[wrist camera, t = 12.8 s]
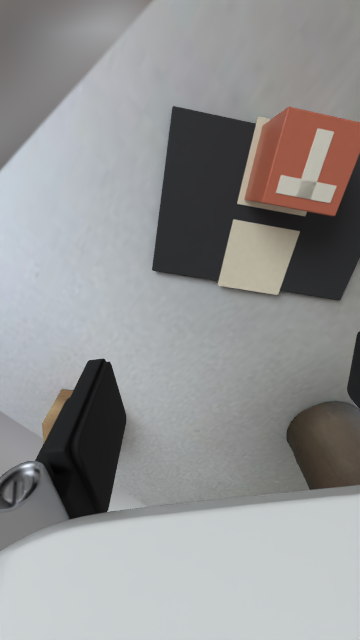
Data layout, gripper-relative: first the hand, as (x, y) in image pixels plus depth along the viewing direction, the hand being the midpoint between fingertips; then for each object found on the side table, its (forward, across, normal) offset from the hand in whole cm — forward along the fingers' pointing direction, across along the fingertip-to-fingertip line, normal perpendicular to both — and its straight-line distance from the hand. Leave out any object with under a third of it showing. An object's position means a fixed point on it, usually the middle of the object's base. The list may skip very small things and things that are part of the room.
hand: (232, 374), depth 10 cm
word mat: (+16, -6, -4) cm, 17 cm away
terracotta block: (+15, -7, -7) cm, 18 cm away
